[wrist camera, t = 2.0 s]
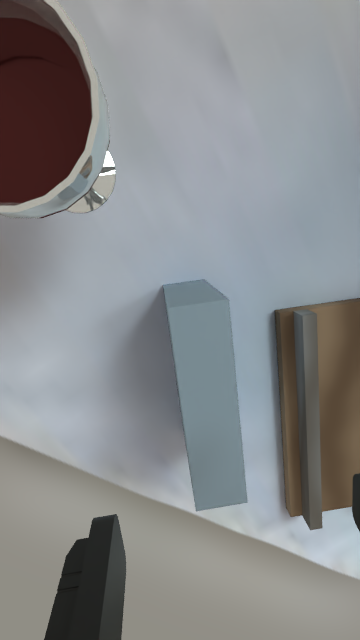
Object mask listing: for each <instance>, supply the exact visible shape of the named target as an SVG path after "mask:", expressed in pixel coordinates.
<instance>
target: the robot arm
mask: <svg viewBox="0 0 360 640" xmlns="http://www.w3.org/2000/svg"><path fill="white" fill-rule="evenodd" d="M352 512H353V517H354V520H355V523H356V525H357V527H358V529H359V531H360V473H358V474H354V476H353V489H352ZM125 579H126V558H125V550H124V545H123V540H122V535H121V531H120V525H119V520H118V516H117V515H116V514H115V515H109V516H103V517H97V518H94V519H93V520H92V525H91V529H90V534H89V538H84V539H79V540H77V541H76V542H75V544H74V545H73V547H72V548H71V550H70V551H69V553H68V554H67V556H66V559H65V563H64V567H63V571H62V577H61V578H60V582H59V585H58V589H57V591H58V592H57V594H56V597H55V601H54V604H53V608H52V612H51V616H50V620H49V623H48V628H47V631H46V635H45V639H44V640H121V634H122V620H123V606H124V593H125Z"/></svg>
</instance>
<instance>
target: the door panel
mask: <svg viewBox="0 0 360 640" xmlns="http://www.w3.org/2000/svg"><path fill="white" fill-rule="evenodd" d="M163 290H164V297H165V304H166V311H167V318H168V325H169V332H170V339H171V346H172V353H173V360H174V367H175V374H176V381H177V388H178V395H179V402H180V409H181V416H182V423H183V430H184V437H185V443H186V450H187V456H188V463H189V469H190V475H191V482H192V488H193V494H194V501H195V507H196V511H200V510H206V509H212V508H218V507H224V506H230V505H235V504H241V503H247V492H246V481H245V470H244V459H243V449H242V438H241V427H240V416H239V405H238V395H237V384H236V373H235V362H234V351H233V341H232V330H231V319H230V308H229V299H228V298H226V297H225V296H224V295H223V294H222V293H220V292H219V291H218V290H217V289H215V288H214V287H213V286H212V285H211V284H209V283H208V282H207V281H206V280H196V281H189V282H182V283H175V284H168V285H163Z"/></svg>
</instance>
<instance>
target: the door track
mask: <svg viewBox="0 0 360 640" xmlns="http://www.w3.org/2000/svg"><path fill="white" fill-rule="evenodd" d="M275 320H276V338H277V355H278V373H279V390H280V408H281V425H282V442H283V460H284V477H285V495H286V508H287V510H288V512H289V514H290V516H291V517H294V516H300V515H302V516H303V518H304V519H305V521H306V523H307V525H308V527H309V529H310V530H314V529H320V528H322V512H323V511H329V510H335V509H340V508H346V507H352V489H353V476H354V474H358V473H360V298H356V299H349V300H342V301H335V302H328V303H321V304H314V305H307V306H300V307H293V308H286V309H280V310H275Z"/></svg>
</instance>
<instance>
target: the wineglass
mask: <svg viewBox="0 0 360 640" xmlns="http://www.w3.org/2000/svg"><path fill="white" fill-rule="evenodd" d="M109 142H110V129H109V109H108V102H107V99H106V96H105V94H104V91H103V88H102V85H101V82H100V79H99V76H98V73H97V71H96V69H95V68H94V66H93V65H92V62H91V59H90V56H89V53H88V50H87V47H86V44H85V41H84V39H83V37H82V36H81V34H80V33H79V31H78V30H77V28H76V27H75V26H74V24H73V23H72V21H71V20H70V18H69V17H68V15H67V14H66V12H65V11H64V9H63V8H62V6H61V5H60V4H59V3H58V2H57V1H56V0H0V215H2V216H5V217H8V218H44V217H47V216H50V215H53V214H55V213H58V212H61V211H64V210H67V211H70V212H73V213H86V212H89V211H92V210H95V209H97V208H98V207H100V206H101V205H102V204H103V203H105V202H106V201H107V199H108V197H109V196H110V194H111V193H112V191H113V187H114V183H115V166H114V163H113V160H112V157H111V154H110V153H109V151H108V147H109Z"/></svg>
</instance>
